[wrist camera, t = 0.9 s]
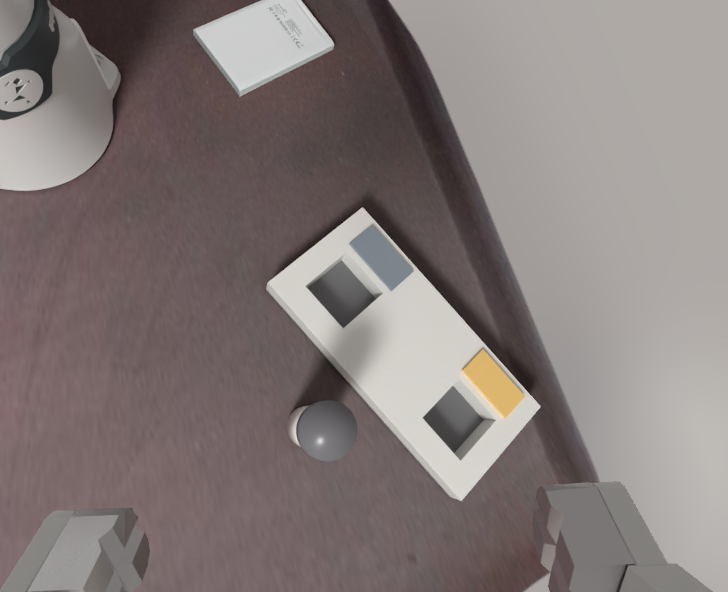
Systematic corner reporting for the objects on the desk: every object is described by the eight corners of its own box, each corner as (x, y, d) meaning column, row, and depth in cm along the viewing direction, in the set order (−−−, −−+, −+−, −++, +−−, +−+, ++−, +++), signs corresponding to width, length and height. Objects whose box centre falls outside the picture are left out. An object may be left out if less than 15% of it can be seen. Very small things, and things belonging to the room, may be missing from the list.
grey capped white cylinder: (274, 425, 44) (286, 429, 32) (308, 394, 45) (330, 388, 34) (304, 458, 44) (326, 474, 32) (336, 426, 45) (369, 431, 34)
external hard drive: (193, 39, 51) (289, -3, 55) (239, 100, 51) (332, 53, 55) (192, 27, 50) (291, -15, 54) (239, 90, 49) (335, 42, 53)
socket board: (266, 290, 46) (267, 281, 43) (355, 218, 50) (363, 205, 47) (447, 495, 46) (463, 501, 43) (523, 407, 50) (543, 406, 47)
